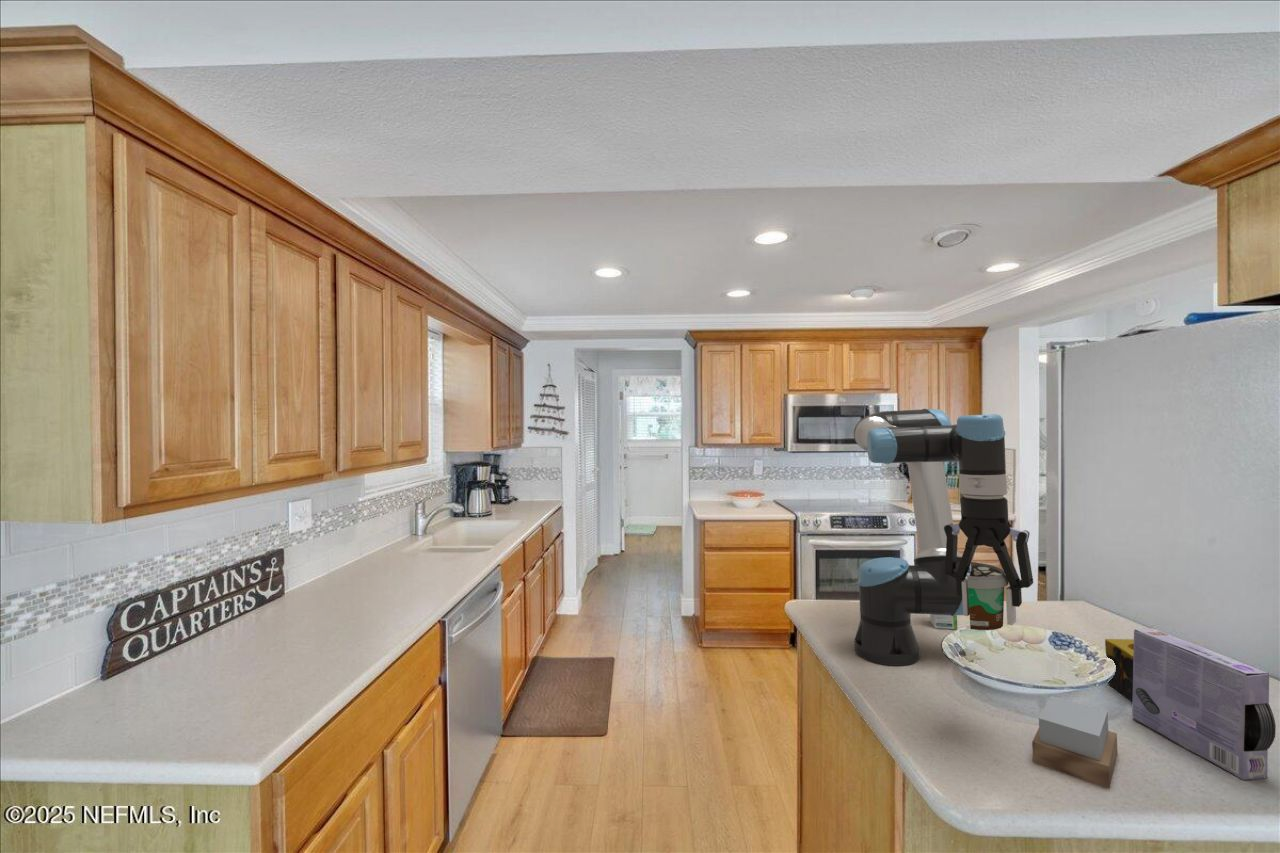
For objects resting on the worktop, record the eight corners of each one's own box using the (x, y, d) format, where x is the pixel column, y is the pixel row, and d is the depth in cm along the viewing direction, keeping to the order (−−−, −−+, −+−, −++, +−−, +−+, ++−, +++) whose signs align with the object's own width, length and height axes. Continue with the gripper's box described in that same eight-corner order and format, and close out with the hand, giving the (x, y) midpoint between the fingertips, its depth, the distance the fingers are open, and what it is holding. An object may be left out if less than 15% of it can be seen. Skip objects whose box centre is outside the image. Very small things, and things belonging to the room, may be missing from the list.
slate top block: (1039, 741, 93) (1038, 718, 93) (1051, 717, 100) (1050, 695, 100) (1100, 760, 87) (1099, 736, 87) (1108, 734, 94) (1107, 711, 94)
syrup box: (934, 628, 150) (932, 576, 150) (929, 620, 156) (927, 570, 155) (957, 630, 148) (955, 577, 148) (952, 622, 154) (950, 571, 154)
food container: (1010, 637, 95) (1008, 580, 95) (969, 631, 98) (967, 576, 98) (1010, 616, 105) (1008, 564, 105) (973, 611, 108) (971, 561, 108)
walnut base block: (1033, 764, 93) (1032, 741, 93) (1046, 733, 101) (1045, 712, 101) (1109, 791, 86) (1108, 766, 86) (1117, 756, 94) (1116, 733, 94)
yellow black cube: (1199, 711, 105) (1197, 660, 105) (1138, 708, 107) (1136, 658, 107) (1160, 685, 115) (1158, 639, 115) (1105, 683, 117) (1103, 637, 117)
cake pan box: (1280, 783, 85) (1276, 671, 85) (1252, 786, 85) (1248, 674, 84) (1154, 716, 104) (1150, 625, 104) (1130, 719, 104) (1126, 628, 103)
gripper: (920, 495, 107) (926, 611, 106) (1041, 502, 92) (1047, 637, 92) (935, 491, 112) (940, 602, 111) (1051, 497, 97) (1058, 625, 97)
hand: (989, 618), depth 102 cm, fingers closed on food container, 6 cm apart
